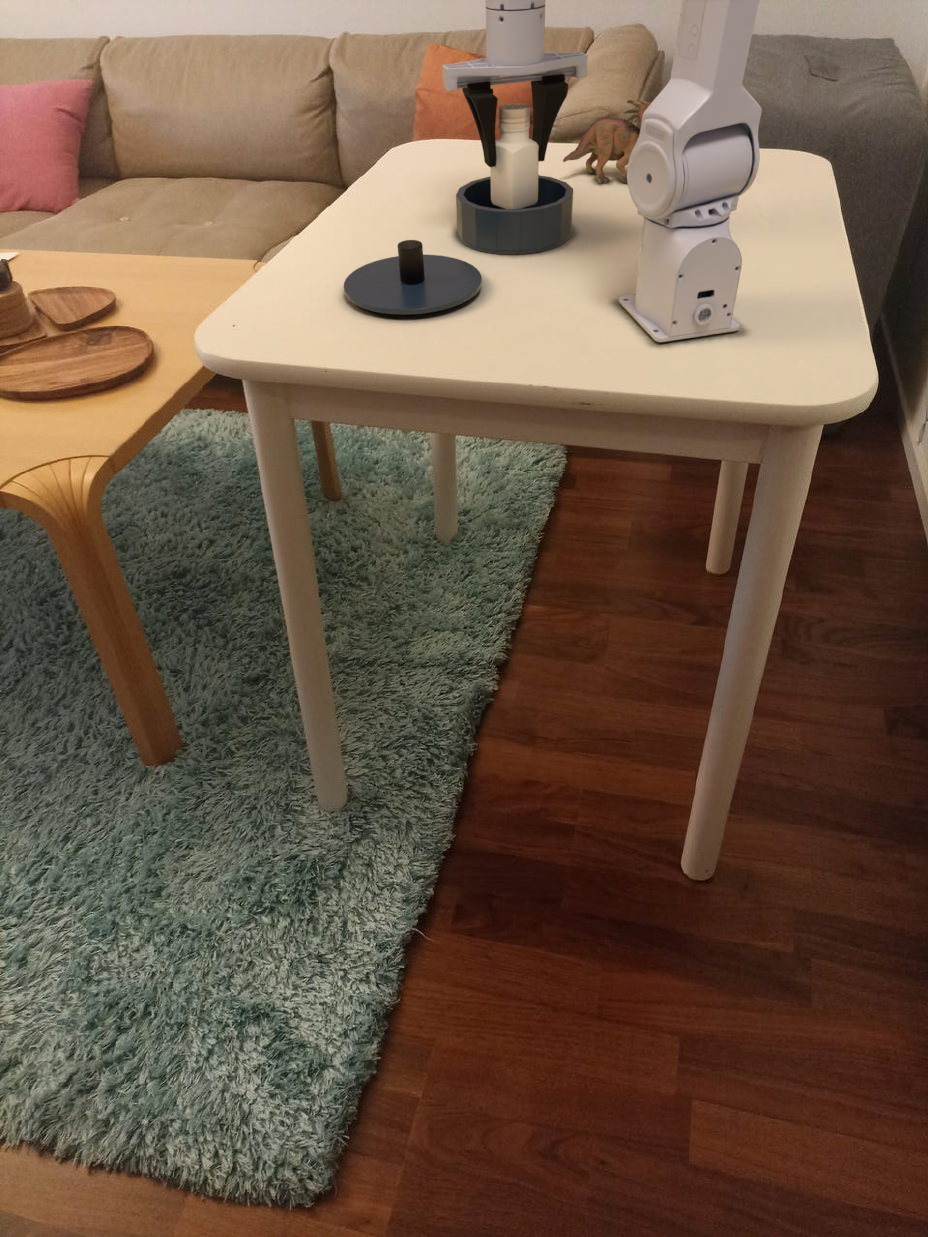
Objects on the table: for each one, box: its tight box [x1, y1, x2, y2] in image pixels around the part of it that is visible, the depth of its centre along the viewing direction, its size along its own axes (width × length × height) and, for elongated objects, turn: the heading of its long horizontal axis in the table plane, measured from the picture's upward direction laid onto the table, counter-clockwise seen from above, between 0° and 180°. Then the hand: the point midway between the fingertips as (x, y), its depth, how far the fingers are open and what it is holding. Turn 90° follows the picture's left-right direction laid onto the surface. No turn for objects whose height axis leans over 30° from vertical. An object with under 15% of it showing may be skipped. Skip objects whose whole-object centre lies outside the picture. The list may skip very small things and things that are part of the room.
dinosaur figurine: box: [562, 99, 652, 185], centre depth 106 cm, size 14×6×9 cm, turn 82°
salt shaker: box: [489, 102, 540, 209], centre depth 91 cm, size 4×4×10 cm
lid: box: [343, 239, 483, 315], centre depth 84 cm, size 14×14×5 cm
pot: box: [455, 174, 574, 256], centre depth 95 cm, size 13×13×4 cm
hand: (514, 161), depth 91 cm, fingers closed on salt shaker, 5 cm apart
